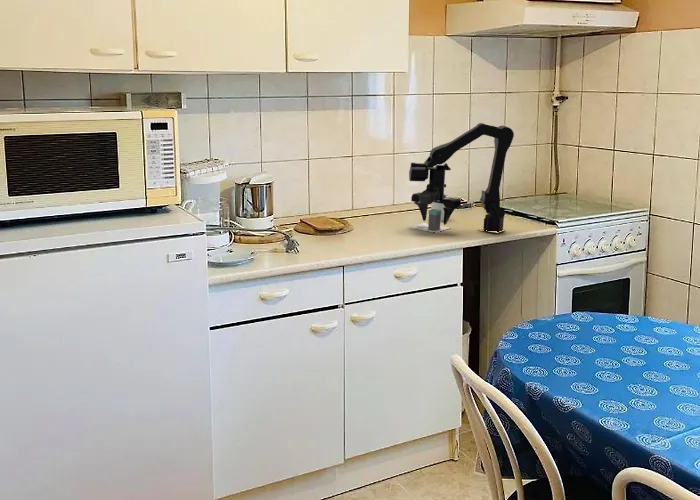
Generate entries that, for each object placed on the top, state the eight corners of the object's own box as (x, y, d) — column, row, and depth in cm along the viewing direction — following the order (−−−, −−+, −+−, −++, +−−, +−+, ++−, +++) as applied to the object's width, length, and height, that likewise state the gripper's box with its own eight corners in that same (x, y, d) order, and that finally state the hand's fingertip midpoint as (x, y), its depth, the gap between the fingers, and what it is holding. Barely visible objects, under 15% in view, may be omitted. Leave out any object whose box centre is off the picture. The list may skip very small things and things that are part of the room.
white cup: (450, 222, 305) (452, 197, 302) (430, 221, 305) (432, 196, 302) (448, 217, 312) (450, 193, 310) (429, 217, 312) (430, 192, 310)
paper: (450, 228, 293) (450, 227, 293) (436, 233, 285) (436, 232, 285) (424, 223, 300) (424, 222, 300) (409, 227, 293) (409, 226, 293)
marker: (440, 229, 290) (441, 210, 288) (435, 231, 287) (436, 211, 285) (432, 228, 292) (433, 209, 290) (427, 229, 289) (428, 210, 287)
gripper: (403, 180, 284) (401, 222, 288) (446, 187, 273) (444, 230, 277) (420, 177, 293) (418, 217, 297) (462, 184, 281) (460, 225, 285)
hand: (434, 222), depth 289 cm, fingers open, 9 cm apart
